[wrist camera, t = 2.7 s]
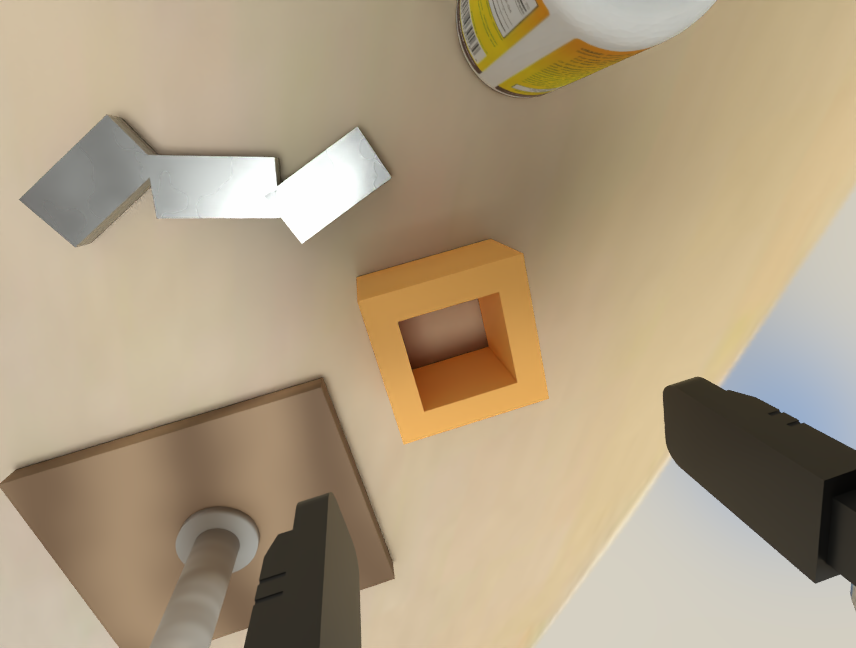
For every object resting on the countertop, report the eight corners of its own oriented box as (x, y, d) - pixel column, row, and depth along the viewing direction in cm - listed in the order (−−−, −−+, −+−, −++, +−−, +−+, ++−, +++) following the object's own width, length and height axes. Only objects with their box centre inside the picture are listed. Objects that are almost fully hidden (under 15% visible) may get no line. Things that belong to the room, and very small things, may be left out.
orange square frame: (490, 238, 20) (523, 253, 16) (515, 360, 22) (549, 398, 18) (356, 277, 19) (357, 301, 16) (394, 397, 21) (403, 444, 18)
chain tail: (357, 58, 17) (357, 51, 16) (399, 213, 19) (401, 215, 18) (9, 146, 16) (-13, 144, 15) (92, 299, 18) (78, 305, 17)
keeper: (322, 377, 21) (310, 462, 14) (392, 563, 25) (406, 690, 19) (15, 470, 20) (-138, 603, 13) (142, 647, 24) (69, 809, 18)
